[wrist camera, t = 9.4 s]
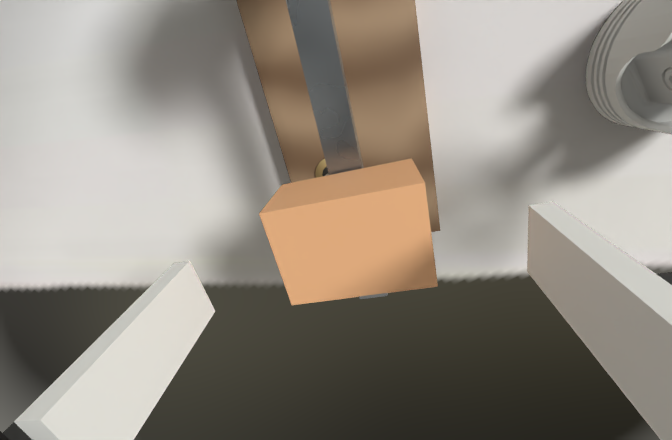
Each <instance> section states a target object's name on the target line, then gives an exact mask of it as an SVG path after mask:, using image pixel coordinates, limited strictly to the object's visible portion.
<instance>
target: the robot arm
mask: <svg viewBox="0 0 672 440" xmlns="http://www.w3.org/2000/svg"><path fill="white" fill-rule="evenodd" d="M527 272H528V273H529V274H530V275H531V277H532V278H533V279H534V280H535V282H536V283H537V284H538V286H539V287H540V288H541V289H542V290H543V292H544V293H545V294H546V296H547V297H548V298H549V299H550V301H551V302H552V303H553V304H554V306H555V307H556V308H557V309H558V311H559V312H560V313H561V314H562V316H563V317H564V318H565V320H566V321H567V322H568V323H569V324H570V326H571V327H572V328H573V330H574V331H575V332H576V333H577V335H578V336H579V337H580V338H581V340H582V341H583V342H584V343H585V345H586V346H587V347H588V349H589V350H590V351H591V352H592V354H593V355H594V356H595V357H596V359H597V360H598V361H599V362H600V364H601V365H602V366H603V368H604V369H605V370H606V371H607V373H608V374H609V375H610V376H611V377H612V379H613V380H614V381H615V383H616V384H617V385H618V386H619V388H620V389H621V390H622V391H623V393H624V394H625V395H626V396H627V398H628V399H629V400H630V401H631V403H632V404H633V405H634V407H635V408H636V409H637V410H638V412H639V413H640V414H641V415H642V417H643V418H644V419H645V420H646V422H647V423H648V424H649V426H650V427H651V428H652V429H653V431H655V433H656V434H657V436H658V437H659V438H660V439H661V440H672V272H668V273H660V274H655V273H654V272H652V271H651V270H650V269H648V268H647V267H645V266H644V265H643V264H641V263H640V262H638V261H637V260H635V259H634V258H633V257H631V256H630V255H628V254H627V253H626V252H624V251H623V250H621V249H620V248H619V247H617V246H616V245H614V244H613V243H611V242H610V241H609V240H607V239H606V238H604V237H603V236H602V235H600V234H599V233H597V232H596V231H594V230H593V229H592V228H590V227H589V226H587V225H586V224H585V223H583V222H582V221H580V220H579V219H577V218H576V217H575V216H573V215H572V214H570V213H569V212H568V211H566V210H565V209H563V208H562V207H560V206H559V205H558V204H556V203H555V202H553V201H552V202H546V203H540V204H534V205H529V216H528V261H527ZM214 312H215V310H214V308H213V306H212V304H211V302H210V300H209V298H208V296H207V294H206V292H205V290H204V288H203V286H202V284H201V282H200V280H199V278H198V276H197V274H196V272H195V270H194V268H193V266H192V264H191V262H190V261H184V262H178V263H174V264H173V265H172V266H171V267H170V268H169V269H168V270H167V271H166V272H165V273H164V274H163V275H162V276H161V277H159V278H158V279H157V280H156V281H155V282H154V283H153V284H152V285H151V286H150V287H149V288H148V289H147V290H146V291H145V292H144V293H143V295H141V296H140V298H138V299H137V300H136V301H135V302H134V303H133V304H132V305H131V307H129V308H128V309H127V310H126V311H125V312H124V313H123V314H122V315H121V316H120V317H119V318H118V319H117V320H116V321H115V322H114V323H113V324H112V325H111V326H110V327H109V328H108V329H107V330H106V331H105V332H104V333H103V334H102V335H101V336H100V337H99V338H98V339H97V340H96V341H95V342H94V343H93V344H92V345H91V346H90V347H89V348H88V349H87V350H86V351H85V352H84V353H83V354H82V355H81V356H80V357H79V358H78V359H77V360H76V361H75V362H74V363H73V364H72V365H71V366H70V367H69V368H68V369H67V370H66V371H65V372H64V373H63V374H62V375H61V376H60V377H59V378H58V379H57V380H56V381H55V382H54V383H53V384H52V385H51V386H50V387H49V388H48V389H47V390H45V391H44V392H43V393H42V395H40V396H39V397H38V398H37V399H36V400H35V401H34V403H32V404H31V405H30V406H29V407H28V408H27V409H26V410H25V412H23V413H22V414H21V415H20V416H19V417H18V418H17V419H16V420H15V421H14V423H13V424H12V425H11V426H10V427H8V429H6V430H5V431H4V432H3V433H2V432H1V431H0V440H133V439H134V438H135V436H136V435H137V433H138V432H139V430H140V428H141V427H142V426H143V424H144V422H145V421H146V419H147V418H148V416H149V415H150V413H151V411H152V410H153V408H154V407H155V405H156V404H157V402H158V400H159V399H160V397H161V396H162V394H163V393H164V391H165V389H166V388H167V386H168V385H169V383H170V382H171V380H172V378H173V377H174V375H175V374H176V372H177V371H178V369H179V367H180V366H181V364H182V363H183V361H184V360H185V358H186V356H187V355H188V353H189V351H190V350H191V349H192V347H193V345H194V344H195V342H196V341H197V339H198V337H199V336H200V334H201V333H202V331H203V330H204V328H205V327H206V325H207V323H208V322H209V320H210V318H211V317H212V316H213V314H214Z"/></svg>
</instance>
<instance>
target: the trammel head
mask: <svg viewBox="0 0 672 440" xmlns="http://www.w3.org/2000/svg"><path fill="white" fill-rule="evenodd" d="M259 215H260V218H261V220H262V223H263V226H264V229H265V232H266V234H267V237H268V240H269V243H270V246H271V248H272V251H273V254H274V257H275V260H276V262H277V265H278V268H279V271H280V274H281V276H282V279H283V282H284V285H285V288H286V290H287V293H288V296H289V299H290V302H291V304H292V305H297V304H305V303H313V302H320V301H328V300H336V299H344V298H351V297H358V296H367V295H375V294H382V293H389V292H397V291H406V290H413V289H421V288H429V287H436V286H438V284H437V276H436V268H435V260H434V252H433V244H432V236H431V227H430V219H429V211H428V203H427V195H426V187H425V182H424V180H423V178H422V176H421V174H420V173H419V171H418V169H417V167H416V165H415V163H414V162H413V160H412V158H411V159H406V160H401V161H396V162H391V163H387V164H382V165H377V166H372V167H367V168H362V169H357V170H352V171H347V172H342V173H337V174H332V175H329V173H328V174H326V175H325V176H322V177H317V178H312V179H307V180H302V181H297V182H292V183H288V184H283V185H281V187H280V188H279V189H278V190H277V192H276V193H275V194H274V195H273V197H272V198H271V199H270V201H269V202H268V203H267V204H266V206H265V207H264V208H263V209H262V211H261V212H260V213H259Z"/></svg>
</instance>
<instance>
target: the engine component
mask: <svg viewBox="0 0 672 440" xmlns="http://www.w3.org/2000/svg"><path fill="white" fill-rule="evenodd" d="M586 86H587V92H588V95H589V98H590V100H591V102H592V104H593V105H594V107H595V109H596V110H597V111H598V112H599V113H600V114H601V115H602V116H604V117H605V118H607V119H608V120H610V121H612V122H615V123H617V124H621V125H625V126H630V127H635V128H641V129H646V130H652V131H657V132H662V133H667V134H672V0H624V1H623V2H622V3H621V4H620V5H619V6H618V7H617V8H616V9H615V10H614V11H613V13H612V14H611V15H610V17H609V18H608V19H607V21H606V22H605V23H604V25H603V26H602V28H601V30H600V31H599V33H598V35H597V37H596V39H595V41H594V43H593V46H592V48H591V50H590V54H589V58H588V62H587V66H586Z"/></svg>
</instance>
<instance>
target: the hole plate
mask: <svg viewBox="0 0 672 440" xmlns="http://www.w3.org/2000/svg"><path fill="white" fill-rule="evenodd" d="M330 2H331V7H332V12H333V17H334V22H335V27H336V32H337V37H338V42H339V47H340V52H341V57H342V62H343V67H344V72H345V77H346V82H347V87H348V92H349V97H350V102H351V107H352V112H353V117H354V122H355V127H356V132H357V137H358V142H359V147H360V152H361V157H362V162H363V167H364V168H367V167H372V166H377V165H382V164H387V163H391V162H396V161H401V160H406V159H411V158H412V160H413V162H414V163H415V165H416V167H417V169H418V171H419V173H420V174H421V176H422V178H423V180H424V182H425V187H426V195H427V203H428V211H429V219H430V227H431V232H434V231H440V224H439V215H438V206H437V197H436V188H435V179H434V170H433V161H432V152H431V142H430V133H429V124H428V115H427V106H426V97H425V88H424V79H423V70H422V61H421V52H420V43H419V34H418V25H417V15H416V6H415V0H330ZM237 4H238V7H239V10H240V14H241V17H242V20H243V24H244V27H245V30H246V34H247V37H248V40H249V44H250V47H251V50H252V54H253V57H254V60H255V64H256V67H257V70H258V74H259V77H260V80H261V84H262V87H263V90H264V94H265V97H266V100H267V104H268V107H269V110H270V114H271V117H272V120H273V124H274V127H275V130H276V134H277V137H278V140H279V144H280V147H281V150H282V154H283V157H284V160H285V164H286V167H287V170H288V174H289V177H290V180H291V183H292V182H297V181H302V180H307V179H312V178H317V177H322V176H325V175H326V174H328V169H327V165H326V161H325V157H324V153H323V149H322V145H321V141H320V137H319V133H318V129H317V125H316V121H315V117H314V113H313V109H312V105H311V101H310V97H309V93H308V89H307V84H306V80H305V76H304V72H303V68H302V64H301V60H300V56H299V52H298V48H297V44H296V40H295V36H294V32H293V28H292V24H291V20H290V16H289V12H288V8H287V4H286V0H237Z"/></svg>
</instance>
